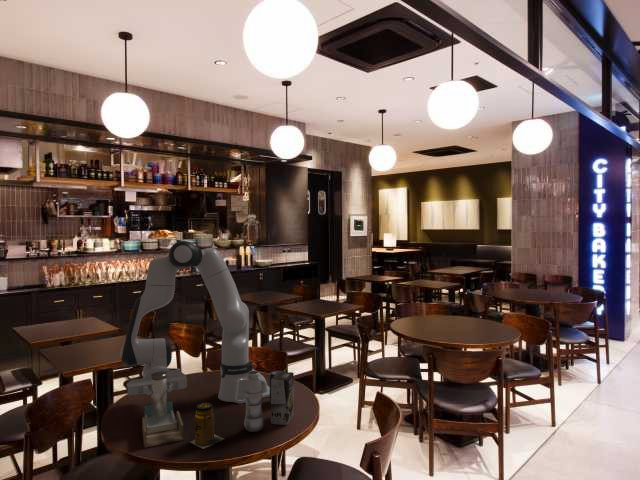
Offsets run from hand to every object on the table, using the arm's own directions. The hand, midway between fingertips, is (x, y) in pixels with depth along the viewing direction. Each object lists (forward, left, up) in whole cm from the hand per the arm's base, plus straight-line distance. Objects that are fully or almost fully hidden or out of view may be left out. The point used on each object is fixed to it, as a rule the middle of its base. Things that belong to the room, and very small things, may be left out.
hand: (159, 391), depth 153 cm
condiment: (-13, +17, -13) cm, 25 cm away
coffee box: (-41, +12, -13) cm, 45 cm away
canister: (0, -1, -8) cm, 8 cm away
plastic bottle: (-29, +16, -13) cm, 36 cm away
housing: (0, +7, -13) cm, 14 cm away
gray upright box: (-45, -4, -13) cm, 47 cm away
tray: (0, 0, -13) cm, 13 cm away
